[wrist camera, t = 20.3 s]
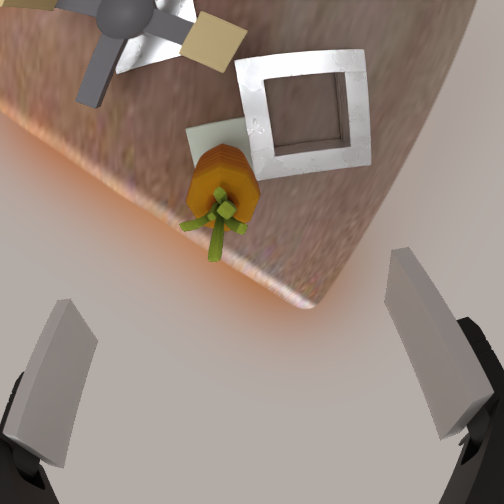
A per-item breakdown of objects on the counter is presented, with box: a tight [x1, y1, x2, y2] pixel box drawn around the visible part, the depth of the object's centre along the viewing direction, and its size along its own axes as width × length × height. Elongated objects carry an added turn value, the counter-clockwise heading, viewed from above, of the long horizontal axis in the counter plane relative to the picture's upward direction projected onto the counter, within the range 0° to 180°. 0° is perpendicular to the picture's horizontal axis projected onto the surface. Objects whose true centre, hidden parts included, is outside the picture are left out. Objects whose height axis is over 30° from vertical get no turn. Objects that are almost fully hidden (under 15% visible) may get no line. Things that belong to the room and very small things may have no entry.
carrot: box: [179, 143, 260, 262], centre depth 23 cm, size 5×5×15 cm
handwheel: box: [0, 0, 248, 109], centre depth 13 cm, size 16×14×8 cm
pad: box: [186, 117, 255, 175], centre depth 30 cm, size 6×6×1 cm
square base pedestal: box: [116, 0, 197, 74], centre depth 19 cm, size 8×8×7 cm
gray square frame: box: [234, 49, 371, 181], centre depth 27 cm, size 11×11×3 cm
